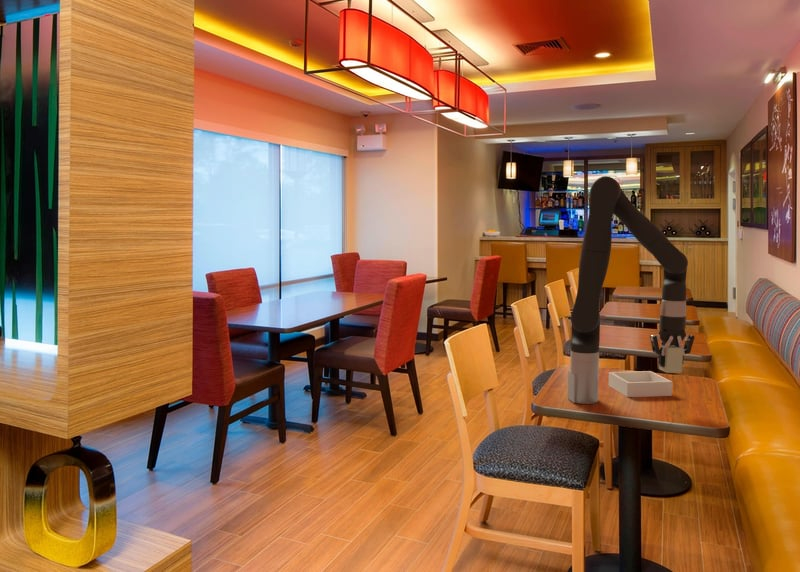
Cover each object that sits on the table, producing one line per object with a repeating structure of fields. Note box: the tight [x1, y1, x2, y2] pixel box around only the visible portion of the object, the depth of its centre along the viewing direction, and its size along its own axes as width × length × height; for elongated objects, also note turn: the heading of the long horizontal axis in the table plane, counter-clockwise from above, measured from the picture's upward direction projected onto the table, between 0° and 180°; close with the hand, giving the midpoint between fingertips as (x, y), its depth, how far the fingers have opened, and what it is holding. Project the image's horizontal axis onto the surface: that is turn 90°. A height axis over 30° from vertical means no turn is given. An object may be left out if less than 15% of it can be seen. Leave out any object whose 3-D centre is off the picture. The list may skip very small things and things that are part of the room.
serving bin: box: [608, 370, 673, 398], centre depth 220 cm, size 16×16×5 cm
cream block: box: [658, 345, 684, 374], centre depth 197 cm, size 5×5×8 cm
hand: (670, 366), depth 197 cm, fingers closed on cream block, 5 cm apart
